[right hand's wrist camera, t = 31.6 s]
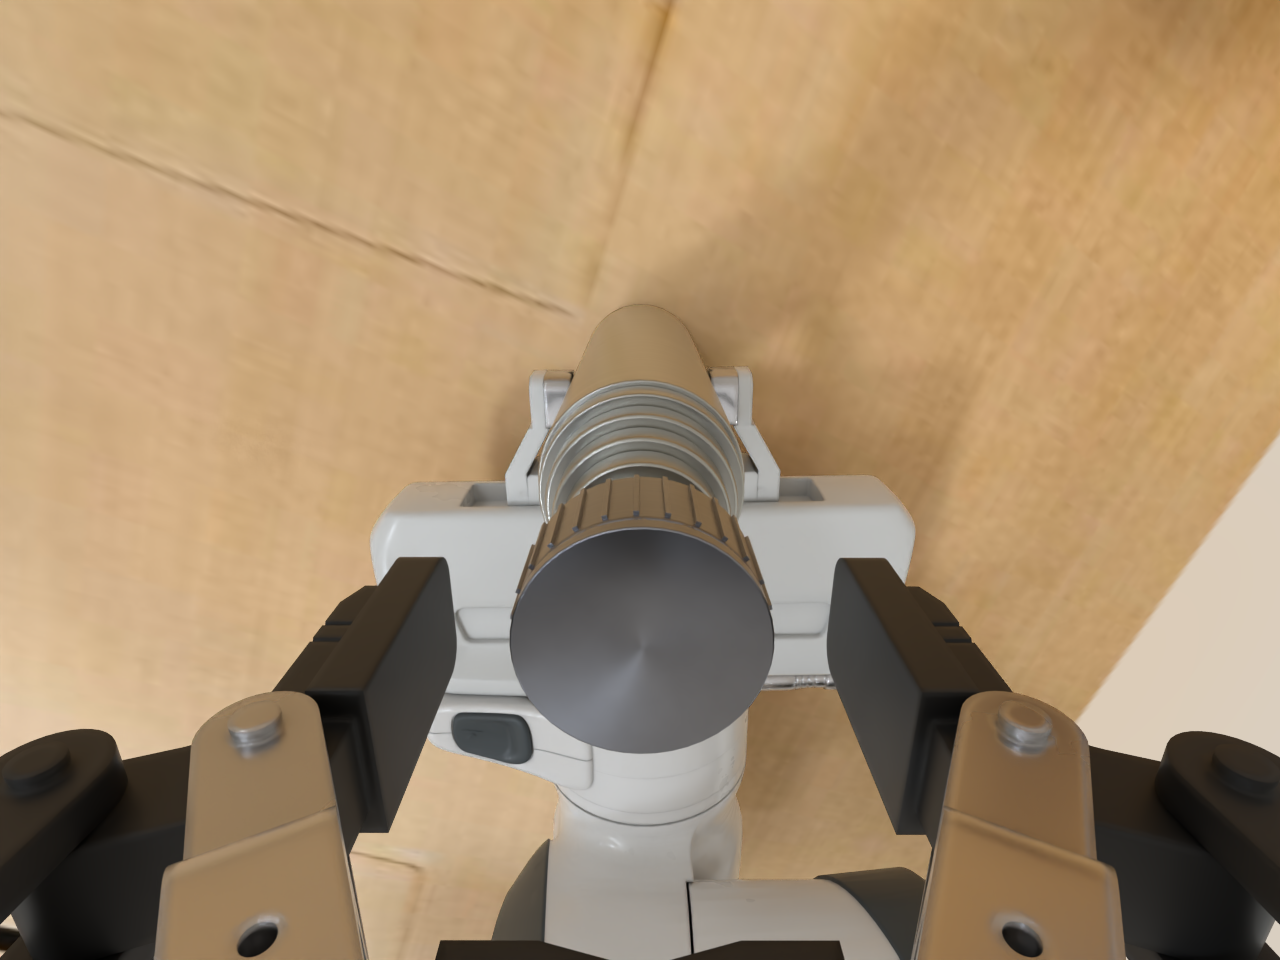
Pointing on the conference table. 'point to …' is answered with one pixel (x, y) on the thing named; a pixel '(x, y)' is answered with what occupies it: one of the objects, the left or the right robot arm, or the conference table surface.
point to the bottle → (641, 415)
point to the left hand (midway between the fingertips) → (639, 370)
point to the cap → (641, 618)
